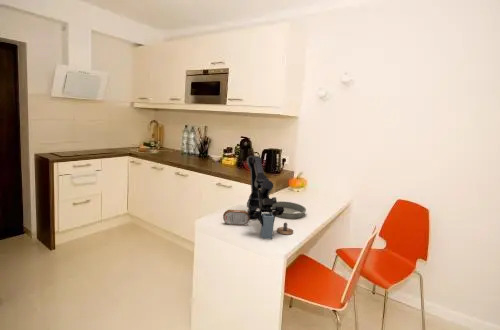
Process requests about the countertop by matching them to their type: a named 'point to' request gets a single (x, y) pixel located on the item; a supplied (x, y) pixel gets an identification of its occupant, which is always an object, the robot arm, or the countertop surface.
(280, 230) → the pin base
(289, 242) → the countertop surface
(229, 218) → the tin
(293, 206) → the cake pan
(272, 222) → the sleeve
